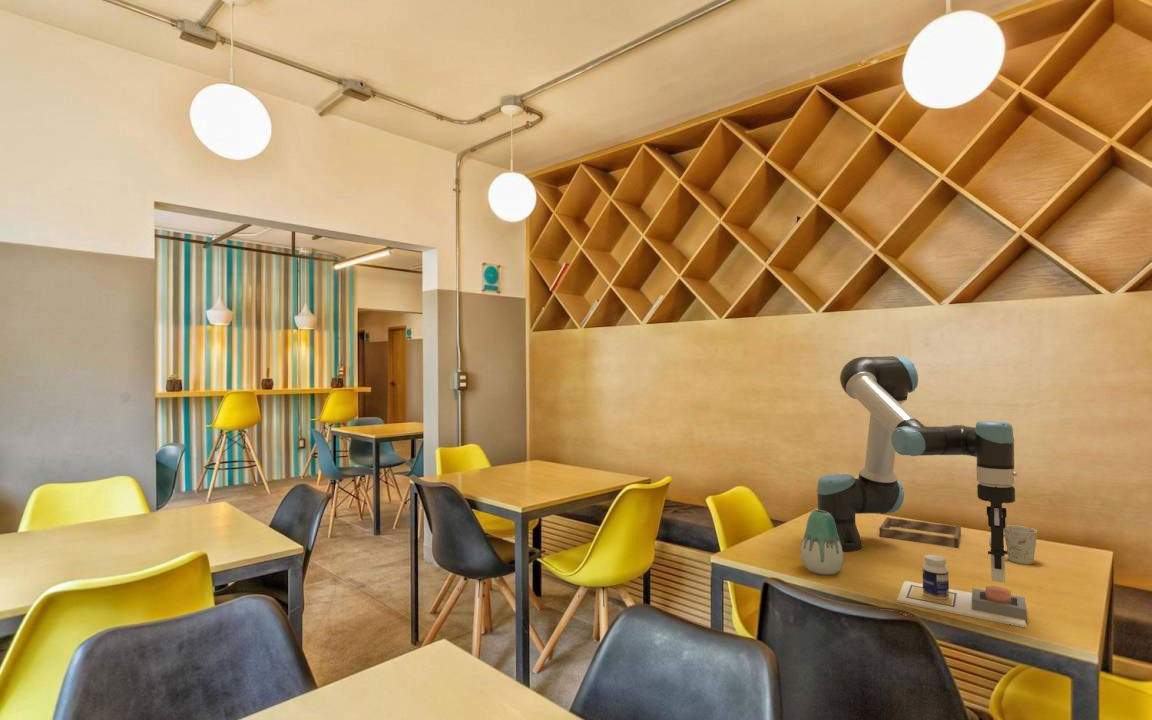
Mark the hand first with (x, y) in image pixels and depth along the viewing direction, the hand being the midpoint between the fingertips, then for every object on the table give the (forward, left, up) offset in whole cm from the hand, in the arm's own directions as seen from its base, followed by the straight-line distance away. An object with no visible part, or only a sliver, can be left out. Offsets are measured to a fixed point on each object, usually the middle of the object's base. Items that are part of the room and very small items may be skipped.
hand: (998, 580), depth 141 cm
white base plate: (-8, 0, -7) cm, 11 cm away
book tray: (-22, +63, -7) cm, 67 cm away
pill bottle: (-13, 0, -7) cm, 15 cm away
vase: (-42, +5, -8) cm, 43 cm away
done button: (0, 0, -5) cm, 5 cm away
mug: (+4, +48, -8) cm, 49 cm away
